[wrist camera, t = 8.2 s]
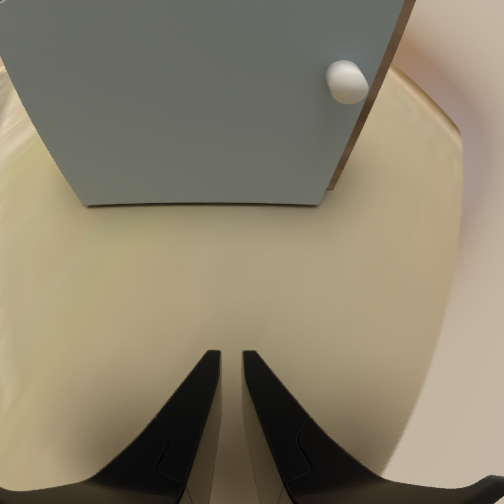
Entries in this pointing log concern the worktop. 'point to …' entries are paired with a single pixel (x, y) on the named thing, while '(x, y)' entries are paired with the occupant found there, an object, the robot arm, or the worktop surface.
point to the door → (195, 92)
